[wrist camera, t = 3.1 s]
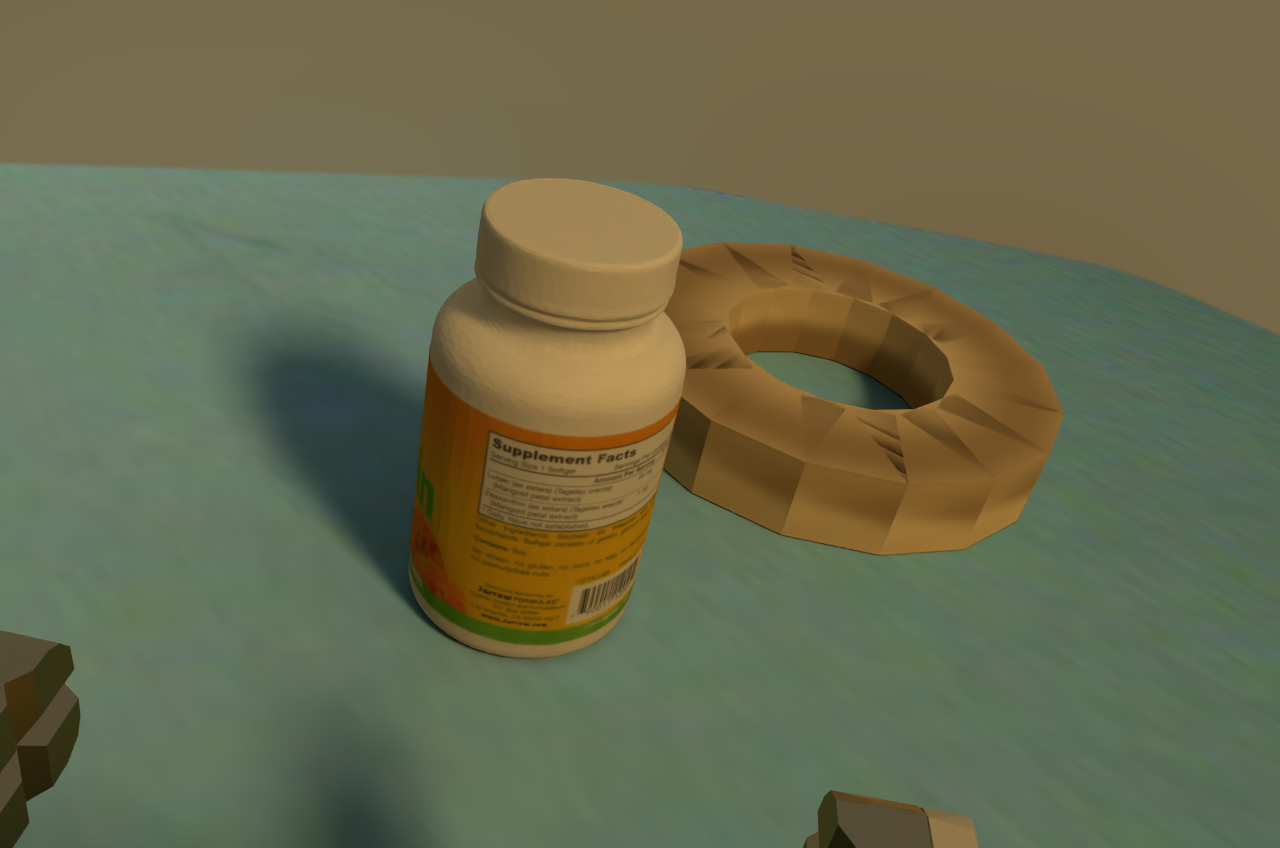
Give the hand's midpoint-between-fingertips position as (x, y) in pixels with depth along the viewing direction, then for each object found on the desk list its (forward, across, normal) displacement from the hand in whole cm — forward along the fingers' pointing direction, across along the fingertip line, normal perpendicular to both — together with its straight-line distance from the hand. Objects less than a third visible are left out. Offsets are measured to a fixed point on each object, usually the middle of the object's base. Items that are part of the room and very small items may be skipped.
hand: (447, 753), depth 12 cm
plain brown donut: (+23, -8, +9) cm, 26 cm away
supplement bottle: (+12, 0, +9) cm, 15 cm away
